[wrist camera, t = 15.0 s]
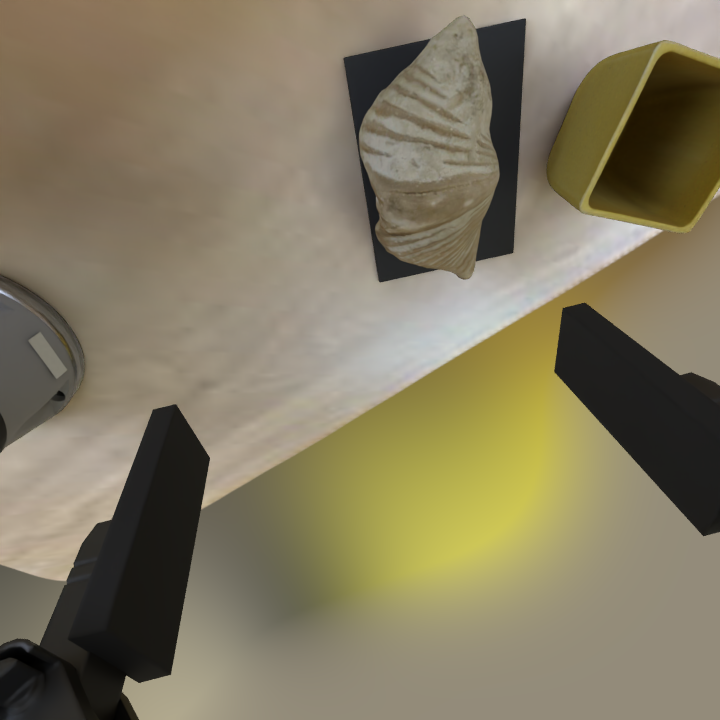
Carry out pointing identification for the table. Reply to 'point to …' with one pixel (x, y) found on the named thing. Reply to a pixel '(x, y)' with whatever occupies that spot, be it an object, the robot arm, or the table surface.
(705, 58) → the flower pot
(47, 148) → the table surface
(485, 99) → the seashell
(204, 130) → the table surface
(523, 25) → the mat
